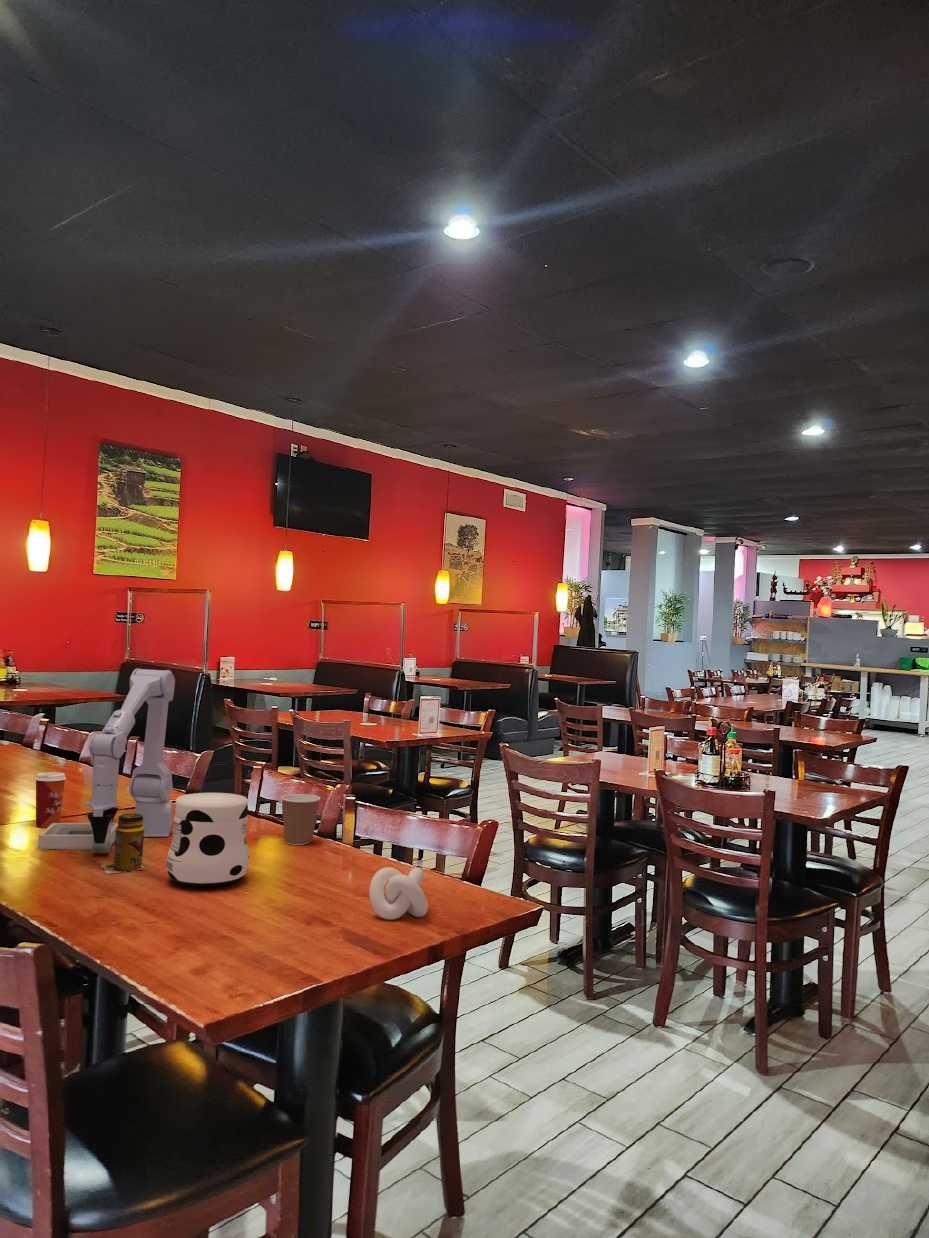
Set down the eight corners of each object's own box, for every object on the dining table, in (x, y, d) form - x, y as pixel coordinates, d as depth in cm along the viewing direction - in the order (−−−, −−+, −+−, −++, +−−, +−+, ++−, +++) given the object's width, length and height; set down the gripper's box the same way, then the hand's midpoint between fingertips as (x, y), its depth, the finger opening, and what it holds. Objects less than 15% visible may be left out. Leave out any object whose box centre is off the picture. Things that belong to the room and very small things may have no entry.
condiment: (146, 870, 193) (149, 817, 193) (106, 874, 188) (110, 819, 188) (139, 862, 199) (142, 811, 199) (100, 866, 194) (103, 813, 195)
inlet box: (118, 836, 222) (119, 823, 222) (108, 849, 209) (109, 835, 209) (51, 836, 219) (52, 822, 219) (37, 850, 205) (38, 835, 205)
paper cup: (54, 829, 226) (57, 776, 227) (25, 827, 227) (29, 775, 227) (68, 823, 234) (72, 772, 235) (41, 821, 234) (44, 770, 235)
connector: (111, 848, 206) (113, 815, 206) (108, 853, 202) (110, 819, 202) (93, 849, 205) (95, 815, 205) (90, 853, 201) (92, 819, 201)
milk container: (262, 876, 193) (266, 796, 194) (220, 896, 176) (225, 809, 177) (195, 866, 198) (200, 789, 198) (148, 886, 181) (154, 801, 182)
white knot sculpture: (373, 926, 163) (376, 879, 163) (363, 907, 174) (365, 863, 175) (430, 924, 166) (433, 877, 166) (416, 905, 178) (419, 861, 178)
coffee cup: (322, 839, 230) (324, 795, 231) (311, 848, 220) (314, 802, 221) (285, 837, 231) (287, 792, 232) (273, 845, 221) (275, 799, 222)
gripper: (93, 778, 210) (89, 833, 210) (80, 789, 196) (76, 848, 196) (123, 778, 212) (120, 833, 211) (113, 789, 198) (109, 848, 197)
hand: (101, 840), depth 204 cm, fingers closed on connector, 4 cm apart
